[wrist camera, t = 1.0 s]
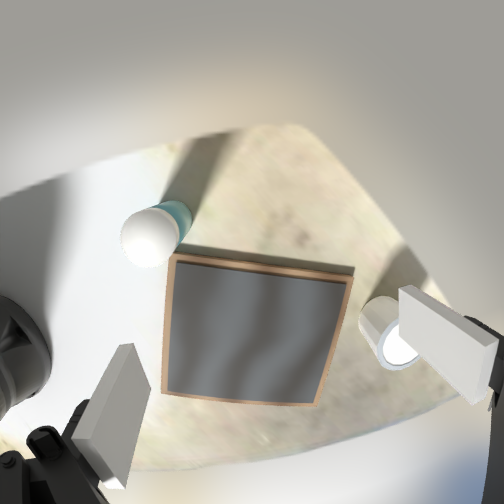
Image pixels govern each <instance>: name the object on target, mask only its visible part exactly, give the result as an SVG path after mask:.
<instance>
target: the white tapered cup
mask: <svg viewBox="0 0 504 504" xmlns="http://www.w3.org/2000/svg"><path fill="white" fill-rule="evenodd" d="M358 323H359V329H360V330H361V332H362V334H363V335H364V337H365V339H366V340H367V342H368V343H369V345H370V347H371V348H372V350H373V352H374V353H375V355H376V357H377V358H378V360H379V362H380V363H381V365H382V366H383V367H385V368H387V369H389V370H401V369H404V368H406V367H409V366H411V365H412V364H413V363H415V362H416V361H417V360H418V359H420V357H421V356H420V355H419V354H418V353H417V352H416V351H415V350H414V349H412V348H411V347H410V346H409V345H408V344H407V343H406V342H405V341H404V340H403V339H402V338H401V337H400V336H399V302H398V301H396V300H394V299H393V298H391V297H388V296H379V297H376V298H373V299H372V300H370V301H369V302H368V303H366V305H365V306H364V307H363V309H362V310H361V312H360V316H359V319H358Z"/></svg>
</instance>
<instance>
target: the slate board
mask: <svg viewBox="0 0 504 504" xmlns="http://www.w3.org/2000/svg"><path fill="white" fill-rule="evenodd" d="M353 280H354V277H353V276H351V275H346V274H339V273H331V272H323V271H315V270H308V269H300V268H293V267H285V266H278V265H270V264H263V263H255V262H248V261H240V260H233V259H226V258H219V257H211V256H204V255H197V254H190V253H183V252H175V251H174V252H173V253H172V255H171V256H170V257H169V264H168V274H167V286H166V299H165V313H164V329H163V348H162V375H161V394H167V395H174V396H180V397H188V398H195V399H203V400H212V401H221V402H231V403H243V404H257V405H275V406H315V407H317V404H318V402H319V399H320V396H321V393H322V390H323V387H324V383H325V380H326V377H327V374H328V371H329V368H330V364H331V361H332V358H333V354H334V351H335V348H336V344H337V341H338V337H339V334H340V330H341V327H342V323H343V319H344V315H345V312H346V308H347V304H348V300H349V296H350V292H351V288H352V284H353Z"/></svg>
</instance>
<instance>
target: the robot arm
mask: <svg viewBox="0 0 504 504" xmlns="http://www.w3.org/2000/svg"><path fill="white" fill-rule="evenodd" d="M399 336H400V337H401V338H402V339H403V340H404V341H405V342H406V343H407V344H408V345H409V346H410V347H411V348H412V349H414V350H415V351H416V352H417V353H418V354H419V355H420V356H421V357H422V358H423V359H424V360H425V361H426V362H427V363H428V364H429V365H431V366H432V367H433V368H434V369H435V370H436V371H437V372H438V373H439V374H440V375H441V376H442V377H443V378H444V379H445V380H446V381H447V382H448V383H449V384H450V385H451V386H452V387H453V388H454V389H455V390H457V391H458V392H459V393H460V394H461V395H462V396H463V397H464V398H465V399H466V400H467V401H468V402H469V403H470V404H471V405H474V404H475V403H477V402H479V401H481V400H482V399H484V398H485V397H486V393H487V390H488V386H490V387H491V388H492V389H493V390H494V392H493V395H492V399H491V402H490V405H489V408H488V411H490V410H491V407H492V416H491V435H490V447H489V457H488V466H487V474H486V480H485V486H484V492H483V498H482V503H481V504H504V336H502V335H501V334H499V333H498V332H496V331H494V330H492V329H491V328H489V327H488V326H487V325H485V324H483V323H482V322H480V321H479V320H477V319H475V318H472V317H469V316H462V315H460V314H459V313H457V312H455V311H454V310H452V309H451V308H449V307H447V306H446V305H444V304H443V303H441V302H439V301H438V300H436V299H434V298H433V297H431V296H429V295H428V294H426V293H425V292H423V291H421V290H420V289H418V288H416V287H415V286H413V285H411V284H410V285H407V286H403V287H400V288H399ZM50 373H51V360H50V355H49V351H48V348H47V345H46V343H45V340H44V338H43V336H42V334H41V332H40V331H39V329H38V327H37V326H36V324H35V323H34V321H33V320H32V319H31V318H30V316H29V315H28V314H27V313H26V312H25V311H24V310H23V309H22V308H21V307H20V306H18V305H17V304H16V303H14V302H13V301H11V300H10V299H8V298H6V297H3V296H0V421H1V419H2V418H3V417H4V415H5V414H6V413H7V411H8V410H9V409H10V408H11V407H12V406H15V405H17V404H19V403H20V402H22V401H24V400H25V399H28V398H31V397H33V396H35V395H36V394H38V393H39V392H40V391H41V389H42V388H43V387H44V385H45V384H46V383H47V381H48V379H49V377H50ZM150 391H151V387H150V385H149V382H148V380H147V377H146V375H145V372H144V370H143V367H142V365H141V362H140V359H139V357H138V354H137V351H136V349H135V346H134V343H131V344H123V345H119V347H118V348H117V350H116V352H115V354H114V356H113V357H112V359H111V361H110V363H109V365H108V367H107V369H106V370H105V372H104V374H103V376H102V378H101V380H100V382H99V384H98V386H97V387H96V389H95V391H94V393H93V395H92V397H91V399H86V400H83V401H82V402H81V403H80V404H79V405H78V406H77V407H76V409H75V411H74V413H73V416H71V418H70V420H69V423H68V424H67V426H66V428H65V430H64V432H63V434H62V435H61V436H60V435H59V433H58V431H57V430H56V429H55V428H54V427H52V426H42V427H39V428H37V429H35V430H33V431H32V432H31V433H30V434H29V435H28V437H27V439H26V444H27V446H28V447H29V449H30V450H31V451H32V453H33V454H34V455H35V457H36V458H32V459H26V460H25V459H24V458H23V456H22V455H21V454H20V453H19V452H18V451H15V450H13V451H7V452H5V453H3V454H2V455H0V504H109V502H108V501H107V499H106V498H105V497H104V495H103V493H102V492H101V491H100V489H99V488H98V483H99V480H101V481H102V483H103V484H104V485H105V486H106V488H110V489H125V487H126V483H127V479H128V475H129V471H130V467H131V463H132V458H133V455H134V451H135V447H136V443H137V439H138V435H139V431H140V428H141V424H142V420H143V416H144V413H145V409H146V406H147V402H148V398H149V395H150Z"/></svg>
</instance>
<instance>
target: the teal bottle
mask: <svg viewBox="0 0 504 504" xmlns="http://www.w3.org/2000/svg"><path fill="white" fill-rule="evenodd" d="M191 225H192V215H191V212H190V210H189V209H188V207H187V206H186V205H185V204H183V203H181V202H179V201H175V200H171V201H166V202H164V203H161V204H158V205H155V206H153V207H150V208H147V209H144V210H142V211H139V212H136V213H134V214H133V215H131V216H130V217H129V218H128V219H127V220H126V221H125V223H124V225H123V227H122V230H121V234H120V241H121V246H122V249H123V251H124V253H125V255H126V256H127V257H128V259H129V260H131V261H132V262H133V263H135V264H136V265H139V266H141V267H148V268H150V267H156V266H159V265H161V264H163V263H164V262H166V261H167V260H168V259H169V257H170V256H171V255H172V253H173V252H174V251H175V249H176V248H177V246H178V245H179V244H180V242H181V241H182V240H183V238H184V237H185V236H186V234H187V233H188V231H189V230H190V228H191Z"/></svg>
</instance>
